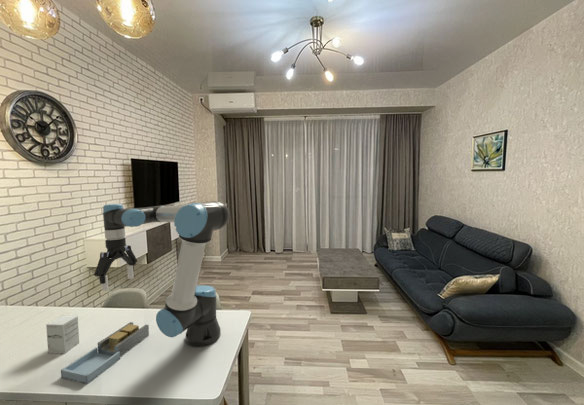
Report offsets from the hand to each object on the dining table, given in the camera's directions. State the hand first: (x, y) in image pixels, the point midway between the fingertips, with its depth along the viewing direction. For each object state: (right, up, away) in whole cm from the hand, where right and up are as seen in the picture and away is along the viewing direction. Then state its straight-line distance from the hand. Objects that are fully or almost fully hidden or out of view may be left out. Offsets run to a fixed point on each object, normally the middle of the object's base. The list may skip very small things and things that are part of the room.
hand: (118, 284), depth 117 cm
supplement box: (-18, -25, -8) cm, 32 cm away
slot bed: (+6, -25, -5) cm, 26 cm away
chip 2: (+7, -22, -3) cm, 23 cm away
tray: (+3, -26, -19) cm, 32 cm away
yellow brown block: (+6, -22, -8) cm, 24 cm away
